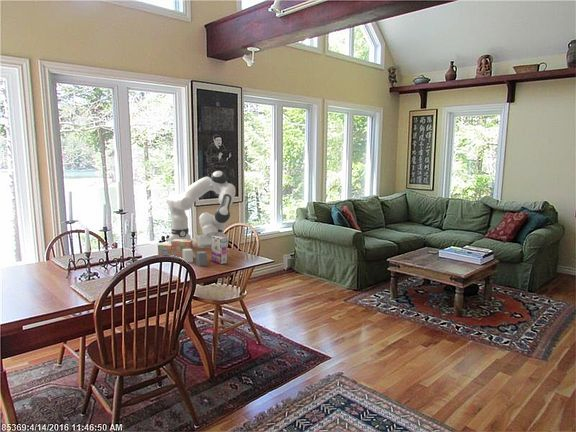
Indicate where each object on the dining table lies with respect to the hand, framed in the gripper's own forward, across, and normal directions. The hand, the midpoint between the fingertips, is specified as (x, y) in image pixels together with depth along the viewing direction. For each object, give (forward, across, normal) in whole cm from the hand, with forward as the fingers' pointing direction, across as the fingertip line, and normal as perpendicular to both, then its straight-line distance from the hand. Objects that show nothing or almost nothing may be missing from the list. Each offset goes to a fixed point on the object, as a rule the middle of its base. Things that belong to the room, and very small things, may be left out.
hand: (216, 251), depth 264 cm
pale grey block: (0, -17, +8) cm, 19 cm away
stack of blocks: (-8, -21, +17) cm, 28 cm away
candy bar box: (+9, -1, 0) cm, 9 cm away
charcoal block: (+8, -12, 0) cm, 15 cm away
